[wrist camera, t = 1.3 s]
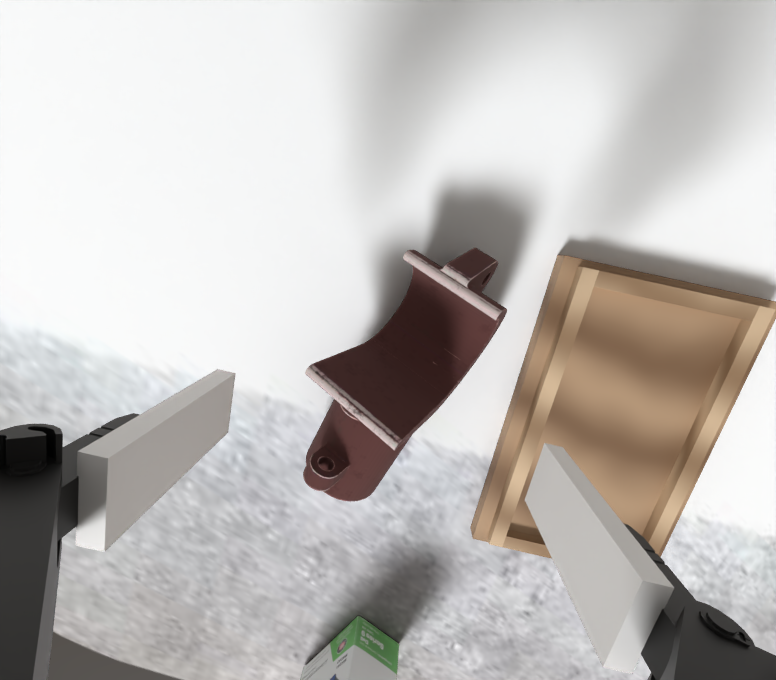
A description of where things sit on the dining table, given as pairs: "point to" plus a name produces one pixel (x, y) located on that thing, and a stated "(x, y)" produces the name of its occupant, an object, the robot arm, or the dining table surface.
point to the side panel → (622, 395)
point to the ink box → (356, 655)
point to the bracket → (400, 373)
